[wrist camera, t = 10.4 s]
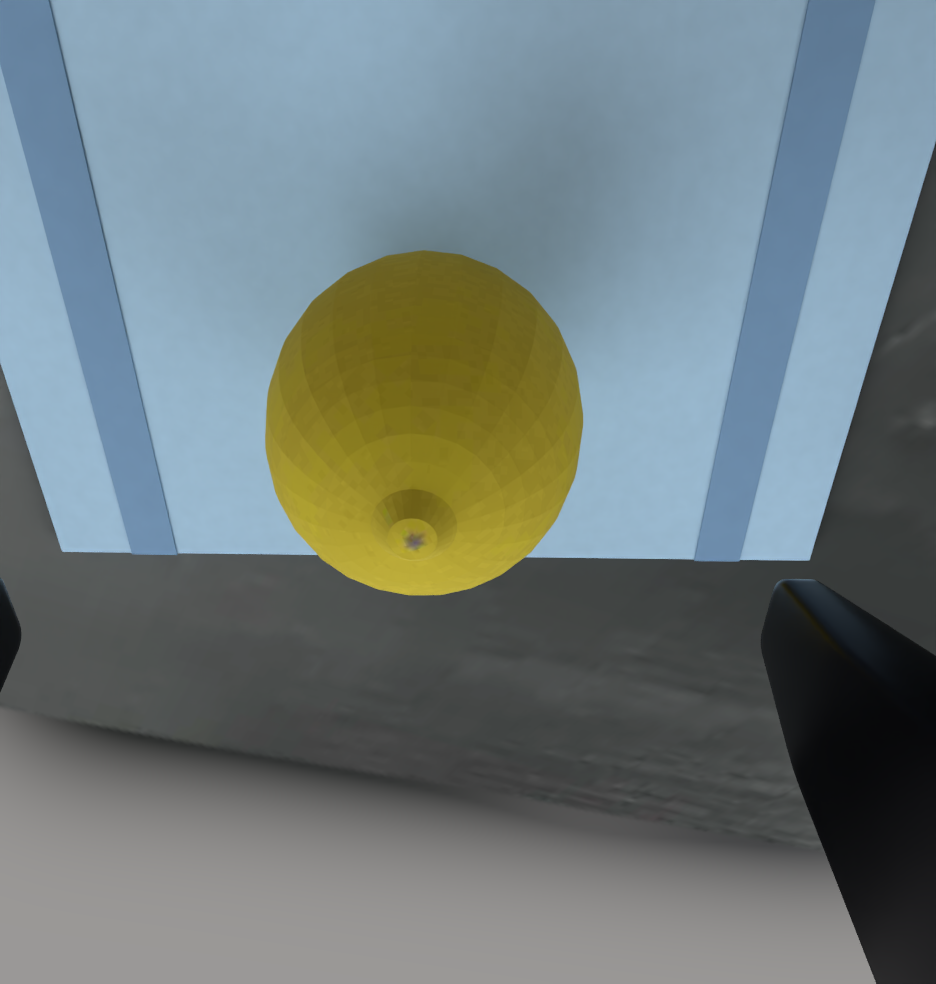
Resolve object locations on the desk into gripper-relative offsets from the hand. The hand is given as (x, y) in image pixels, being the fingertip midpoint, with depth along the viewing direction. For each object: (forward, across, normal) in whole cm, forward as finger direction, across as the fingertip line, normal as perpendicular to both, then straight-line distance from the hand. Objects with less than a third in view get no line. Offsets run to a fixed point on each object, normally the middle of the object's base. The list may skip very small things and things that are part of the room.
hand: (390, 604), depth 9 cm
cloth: (+10, 0, -1) cm, 10 cm away
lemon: (+10, 0, 0) cm, 10 cm away
